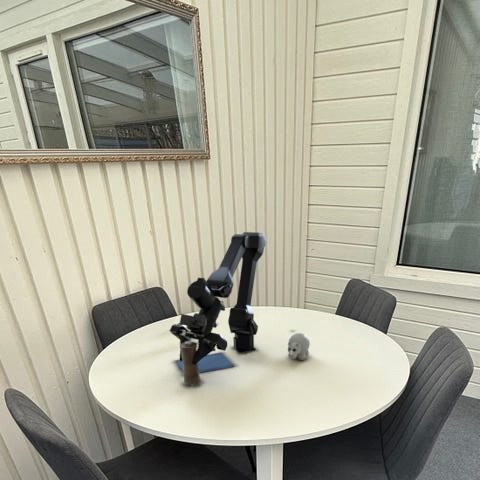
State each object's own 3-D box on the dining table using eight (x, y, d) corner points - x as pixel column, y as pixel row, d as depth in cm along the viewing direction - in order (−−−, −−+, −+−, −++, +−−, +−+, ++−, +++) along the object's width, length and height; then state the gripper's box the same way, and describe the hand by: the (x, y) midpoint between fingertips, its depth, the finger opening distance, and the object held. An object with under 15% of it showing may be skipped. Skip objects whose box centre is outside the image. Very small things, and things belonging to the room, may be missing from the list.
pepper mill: (197, 376, 130) (193, 338, 123) (202, 382, 126) (198, 343, 119) (182, 379, 128) (177, 341, 122) (186, 385, 124) (182, 346, 118)
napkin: (221, 353, 148) (221, 352, 147) (234, 366, 137) (234, 365, 137) (175, 361, 143) (174, 360, 142) (184, 375, 132) (184, 374, 132)
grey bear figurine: (279, 364, 137) (279, 340, 133) (292, 352, 146) (293, 328, 142) (299, 368, 134) (300, 343, 130) (311, 355, 143) (313, 331, 139)
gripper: (169, 297, 122) (148, 344, 120) (219, 306, 112) (196, 357, 111) (190, 316, 131) (170, 360, 130) (237, 326, 122) (216, 373, 120)
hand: (186, 362), depth 123 cm, fingers closed on pepper mill, 4 cm apart
